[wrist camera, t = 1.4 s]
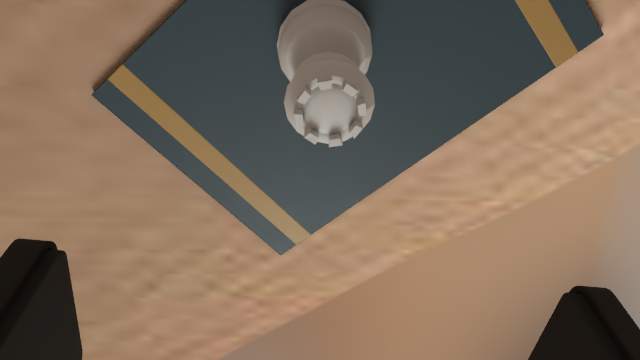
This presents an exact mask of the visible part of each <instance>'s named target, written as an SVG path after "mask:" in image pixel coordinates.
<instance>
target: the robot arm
mask: <svg viewBox="0 0 640 360" xmlns="http://www.w3.org/2000/svg"><path fill="white" fill-rule="evenodd" d="M0 360H82V345H81V339H80V333H79V327H78V321H77V315H76V309H75V303H74V297H73V291H72V285H71V279H70V273H69V267H68V261H67V256H66V253H65V251H61V250H57V247H56V244H55V243H54V242H51V241H41V240H29V239H17V240H15V241H14V242H13V243H12V244H11V245H10V246H9V247H8V249H7V250H6V251H5V253H4V254H3V255H2V256H1V258H0ZM528 360H640V329H639V328H638V326H637V325H636V324H635V322H634V321H633V319H632V318H631V317H630V315H629V314H628V313H627V311H626V310H625V309H624V307H623V306H622V304H621V303H620V302H619V300H618V299H617V298H616V296H615V295H614V294H613V293H612V292H611V291H610V290H609V289H607V288H599V287H587V286H575V287H574V288H572V289H571V290H570V292H569V293H565V294H563V296H562V297H561V299H560V301H559V303H558V305H557V306H556V309H555V310H554V312H553V314H552V316H551V318H550V319H549V321H548V323H547V325H546V327H545V329H544V331H543V333H542V334H541V336H540V338H539V340H538V342H537V344H536V346H535V348H534V349H533V351H532V353H531V355H530V357H529V359H528Z"/></svg>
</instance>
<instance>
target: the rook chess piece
mask: <svg viewBox="0 0 640 360" xmlns="http://www.w3.org/2000/svg"><path fill="white" fill-rule="evenodd" d="M277 48H278V51H277V52H278V56H279V61H280V66H281V69H282V71H283V72H284V74H285V75H286V77H287V78H288V79H289V81H290V83H289V84H288V86H287V89H286V94H285V99H284V106H285V110H286V115H287V119H288V120H289V122H290V123H291V124H292V126H293V127H294V128H295V130H296V131H297V132H298V133H300V134H301V135H303V136H304V138H305V139H307V140H309V141H310V142H312V143H313V144H315V145H316V143H317V142H321V143H326V144H329V147H335V146H341V145H343V144H342V142H343V141H346V140H348V139H349V138H351V137H353V138H354V139H355V138H356V136H357V135H358V134H359V133H360V132H361V131H362V129H363V128H364V127H365V126H366V124H367V123H368V122H369V121H370V119H371V116H372V112H373V109H374V106H375V101H374V92H373V87H372V86H371V84H370V82H369V81H368V79H367V77H366V76H365V74H366V73H367V71H368V67H369V64H370V61H371V57H372V54H373V53H372V43H371V34H370V28H369V27H368V25H367V23H366V21H365V20H364V18H363V16H362V14H361V13H360V12H359V11H357V10H356V9H355V8H353V7H352V6H351V5H349V4H348V3H347V2H345V1H341V0H307V1H305V2H304V3H302V4H301V5H299V6H298V7H296V8H295V9H293V10H292V11H291V12H290V13H289V15H288V16H287V18H286V19H285V21H284V22H283V24H282V25H281V27H280V31H279V37H278V42H277Z"/></svg>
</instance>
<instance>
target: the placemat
mask: <svg viewBox="0 0 640 360" xmlns="http://www.w3.org/2000/svg"><path fill="white" fill-rule="evenodd" d="M305 1H307V0H186V1H185V2H184V3H183V4H182V5H181V6H180V7H179V8H178V9H177V10H176V11H175V12H174V13H173V14H172V15H171V16H170V17H169V18H168V19H167V20H166V21H165V22H164V23H163V24H162V25H161V26H160V27H159V28H158V29H157V30H156V31H155V32H154V33H153V34H152V35H151V36H150V37H149V38H148V39H147V40H146V41H145V42H144V43H143V44H142V45H141V46H140V47H139V48H138V49H137V50H136V51H135V52H134V53H133V54H132V55H131V56H130V57H129V58H128V59H127V60H126V61H125V62H124V63H123V64H122V65H121V66H120V67H119V68H118V69H117V70H116V71H115V72H114V73H113V74H112V75H111V76H110V77H109V78H108V79H107V80H106V81H105V82H104V83H103V84H102V85H101V86H100V87H99V88H98V89H97V90H96V91H95V92H94V93H93V94H92V96H93V97H94V98H95V99H97V100H98V101H99V102H100V103H101V104H103V105H104V106H105V107H106V108H107V109H108V110H110V111H111V112H112V113H113V114H114V115H116V116H117V117H118V118H119V119H120V120H122V121H123V122H124V123H125V124H126V125H127V126H129V127H130V128H131V129H132V130H133V131H135V132H136V133H137V134H138V135H139V136H140V137H142V138H143V139H144V140H145V141H146V142H148V143H149V144H150V145H151V146H152V147H153V148H155V149H156V150H157V151H158V152H159V153H161V154H162V155H163V156H164V157H165V158H166V159H168V160H169V161H170V162H171V163H172V164H174V165H175V166H176V167H177V168H178V169H179V170H181V171H182V172H183V173H184V174H185V175H187V176H188V177H189V178H190V179H191V180H192V181H194V182H195V183H196V184H197V185H198V186H200V187H201V188H202V189H203V190H204V191H205V192H207V193H208V194H209V195H210V196H211V197H213V198H214V199H215V200H216V201H217V202H218V203H220V204H221V205H222V206H223V207H224V208H226V209H227V210H228V211H229V212H230V213H231V214H233V215H234V216H235V217H236V218H237V219H239V220H240V221H241V222H242V223H243V224H244V225H246V226H247V227H248V228H249V229H250V230H252V231H253V232H254V233H255V234H256V235H257V236H259V237H260V238H261V239H262V240H263V241H265V242H266V243H267V244H268V245H269V246H270V247H272V248H273V249H274V250H275V251H276V252H278V253H279V254H280V255H282V254H283V253H285V252H286V251H288V250H289V249H291V248H292V247H293V246H295V245H296V244H298V243H300V242H301V241H303V240H304V239H305V238H307V237H308V236H310V235H311V234H313V233H314V232H315V231H317V230H318V229H320V228H321V227H323V226H324V225H326V224H327V223H329V222H330V221H332V220H333V219H334V218H336V217H337V216H339V215H340V214H342V213H343V212H345V211H346V210H348V209H349V208H351V207H352V206H354V205H355V204H356V203H358V202H359V201H361V200H362V199H364V198H365V197H367V196H368V195H370V194H371V193H373V192H374V191H376V190H377V189H378V188H380V187H381V186H383V185H384V184H386V183H387V182H389V181H390V180H392V179H393V178H395V177H396V176H398V175H399V174H400V173H402V172H403V171H405V170H406V169H408V168H409V167H411V166H412V165H414V164H415V163H417V162H418V161H420V160H421V159H422V158H424V157H425V156H427V155H428V154H430V153H431V152H433V151H434V150H436V149H437V148H439V147H440V146H441V145H443V144H444V143H446V142H447V141H449V140H450V139H452V138H453V137H455V136H456V135H458V134H459V133H461V132H462V131H463V130H465V129H466V128H468V127H469V126H471V125H472V124H474V123H475V122H477V121H478V120H480V119H481V118H483V117H484V116H485V115H487V114H488V113H490V112H491V111H493V110H494V109H496V108H497V107H499V106H500V105H502V104H503V103H505V102H506V101H507V100H509V99H510V98H512V97H513V96H515V95H516V94H518V93H519V92H521V91H522V90H524V89H525V88H526V87H528V86H529V85H531V84H532V83H534V82H535V81H537V80H538V79H540V78H541V77H543V76H544V75H546V74H547V73H548V72H550V71H551V70H553V69H554V68H556V67H558V66H559V65H561V64H562V63H563V62H565V61H566V60H568V59H569V58H571V57H572V56H574V55H575V54H577V53H578V52H579V51H581V50H582V49H584V48H585V47H587V46H588V45H590V44H591V43H592V42H594V41H595V40H597V39H598V38H600V37H601V36H603V33H602V31H601V29H600V27H599V25H598V23H597V21H596V20H595V18H594V16H593V14H592V12H591V10H590V8H589V7H588V5H587V3H586V1H585V0H341V1H345V2H347V3H348V4H349V5H351V6H352V7H353V8H355V9H356V10H357V11H359V12H360V13H361V14H362V16H363V18H364V20H365V21H366V23H367V25H368V27H369V28H370V34H371V43H372V53H373V54H372V57H371V61H370V64H369V67H368V71H367V73H366V74H365V76H366V77H367V79H368V81H369V82H370V84H371V86H372V87H373V92H374V101H375V106H374V109H373V112H372V116H371V119H370V121H369V122H368V123H367V124H366V126H365V127H364V128H363V129H362V131H361V132H360V133H359V134H358V135H357V136H356V138H355V139H354V138H353V137H351V138H349V139H348V140H346V141H343V142H342V144H343V145H341V146H335V147H329V144H326V143H321V142H317V143H316V145H315V144H313V143H312V142H310V141H309V140H307V139H305V138H304V136H303V135H301V134H300V133H298V132H297V131H296V130H295V128H294V127H293V126H292V124H291V123H290V122H289V120H288V119H287V115H286V110H285V106H284V99H285V94H286V89H287V86H288V84H289V83H290V81H289V79H288V78H287V77H286V75H285V74H284V72H283V71H282V69H281V66H280V61H279V56H278V52H277V51H278V48H277V42H278V37H279V31H280V27H281V25H282V24H283V22H284V21H285V19H286V18H287V16H288V15H289V13H290V12H291V11H292V10H293V9H295V8H296V7H298V6H299V5H301V4H302V3H304V2H305Z"/></svg>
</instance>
